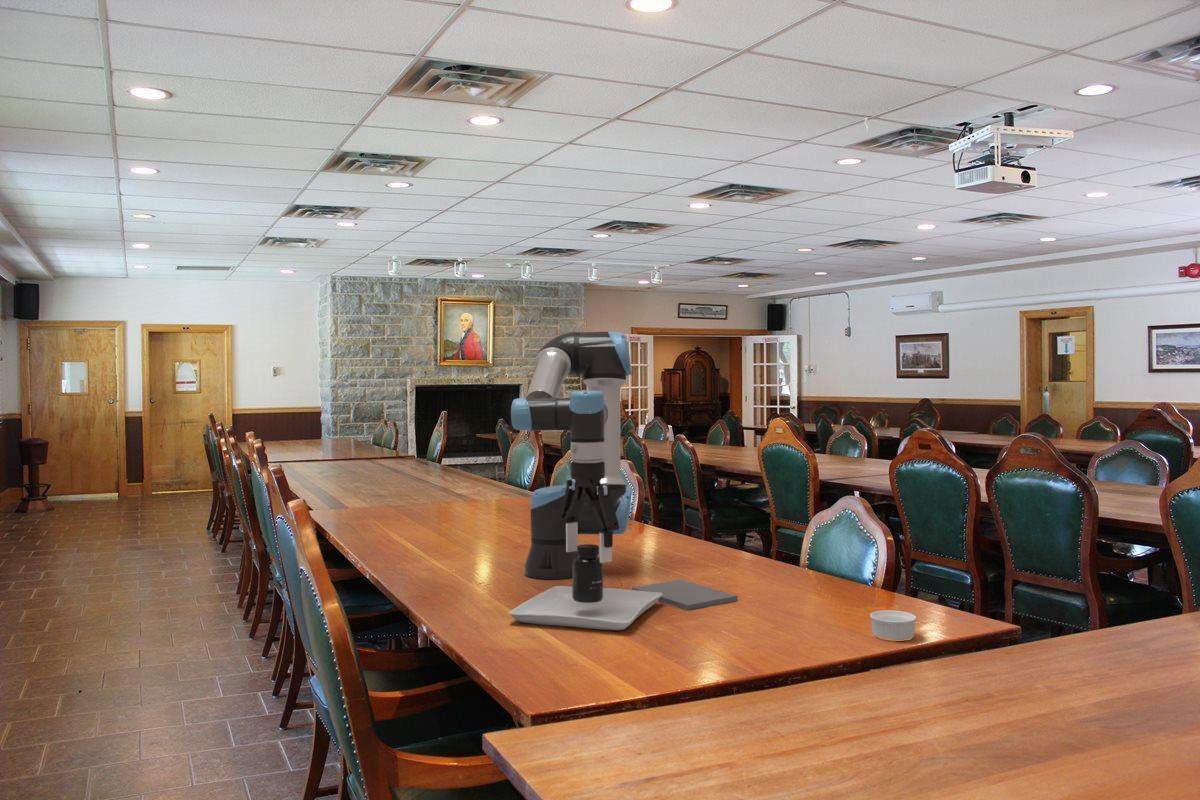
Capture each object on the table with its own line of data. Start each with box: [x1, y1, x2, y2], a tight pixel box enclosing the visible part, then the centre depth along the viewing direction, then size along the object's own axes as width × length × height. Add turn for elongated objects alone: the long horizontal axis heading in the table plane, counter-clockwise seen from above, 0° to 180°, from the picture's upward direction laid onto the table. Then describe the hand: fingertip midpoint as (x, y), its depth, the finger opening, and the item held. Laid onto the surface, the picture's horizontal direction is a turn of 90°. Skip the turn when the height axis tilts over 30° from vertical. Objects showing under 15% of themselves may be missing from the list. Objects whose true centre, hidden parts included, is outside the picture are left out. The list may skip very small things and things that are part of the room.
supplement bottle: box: [571, 543, 604, 603], centre depth 202 cm, size 7×7×12 cm
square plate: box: [508, 585, 663, 631], centre depth 202 cm, size 27×27×4 cm
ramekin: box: [869, 609, 917, 640], centre depth 183 cm, size 9×9×4 cm
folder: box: [631, 579, 738, 611], centre depth 217 cm, size 15×21×1 cm
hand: (588, 556), depth 202 cm, fingers open, 13 cm apart
